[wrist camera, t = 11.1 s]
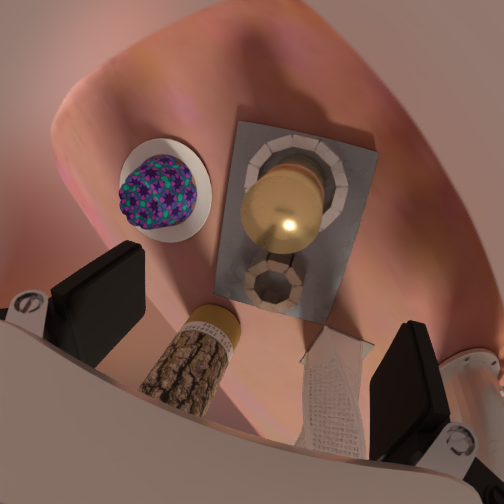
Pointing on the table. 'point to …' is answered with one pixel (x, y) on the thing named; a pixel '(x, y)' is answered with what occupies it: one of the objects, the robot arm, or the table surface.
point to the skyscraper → (333, 395)
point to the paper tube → (195, 361)
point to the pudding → (164, 191)
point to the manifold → (317, 252)
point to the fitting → (285, 206)
